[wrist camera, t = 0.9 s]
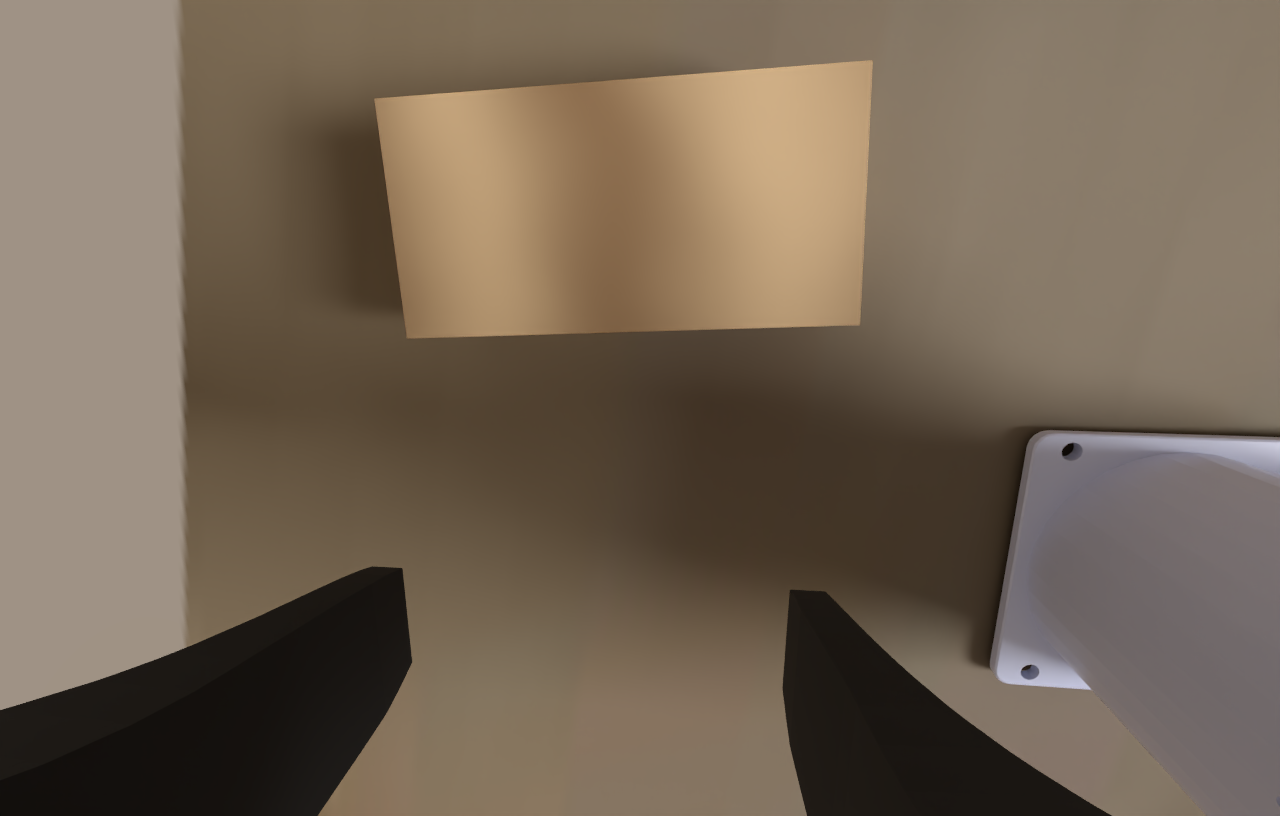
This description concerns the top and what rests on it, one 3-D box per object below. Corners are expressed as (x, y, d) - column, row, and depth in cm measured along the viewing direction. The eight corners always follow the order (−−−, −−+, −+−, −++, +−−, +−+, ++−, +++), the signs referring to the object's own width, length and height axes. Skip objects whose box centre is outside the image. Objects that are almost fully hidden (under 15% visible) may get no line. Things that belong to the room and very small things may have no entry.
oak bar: (824, 117, 15) (872, 60, 11) (818, 308, 17) (860, 325, 12) (460, 141, 17) (374, 98, 12) (479, 319, 18) (406, 338, 13)
